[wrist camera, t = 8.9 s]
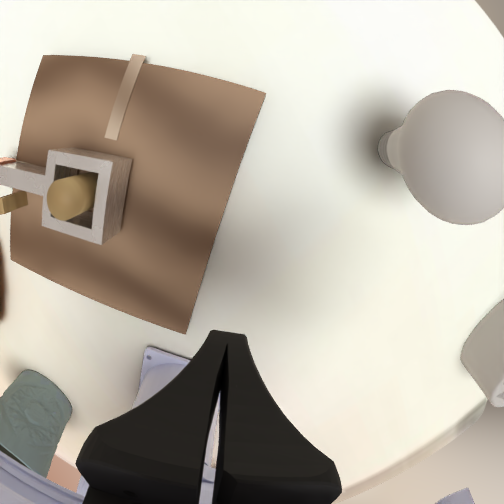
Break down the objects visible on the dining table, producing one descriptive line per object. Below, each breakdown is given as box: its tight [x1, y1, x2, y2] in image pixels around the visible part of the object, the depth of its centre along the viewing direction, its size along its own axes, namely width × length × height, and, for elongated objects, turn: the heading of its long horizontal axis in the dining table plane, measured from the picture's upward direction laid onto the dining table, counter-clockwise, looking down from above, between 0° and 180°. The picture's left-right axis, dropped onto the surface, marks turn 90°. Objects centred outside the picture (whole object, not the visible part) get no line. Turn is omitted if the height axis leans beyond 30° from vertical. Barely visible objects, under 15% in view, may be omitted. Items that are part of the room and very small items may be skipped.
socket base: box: [0, 54, 266, 334], centre depth 16 cm, size 18×18×5 cm
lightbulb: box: [378, 90, 504, 225], centre depth 12 cm, size 6×6×11 cm
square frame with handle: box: [0, 148, 132, 245], centre depth 16 cm, size 13×5×3 cm, turn 74°
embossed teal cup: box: [0, 370, 72, 478], centre depth 22 cm, size 10×10×12 cm
